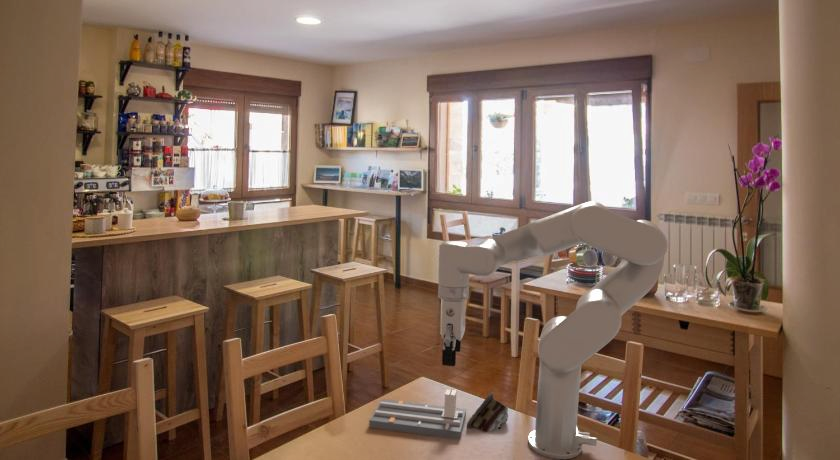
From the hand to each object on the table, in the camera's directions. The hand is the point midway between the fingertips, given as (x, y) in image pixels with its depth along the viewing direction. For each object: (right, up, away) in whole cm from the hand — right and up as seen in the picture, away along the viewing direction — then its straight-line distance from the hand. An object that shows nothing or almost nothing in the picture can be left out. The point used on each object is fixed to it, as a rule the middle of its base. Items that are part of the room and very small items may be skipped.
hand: (451, 357), depth 135 cm
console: (-8, -18, +4) cm, 20 cm away
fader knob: (0, -16, +2) cm, 16 cm away
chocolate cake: (+10, -19, +4) cm, 22 cm away
